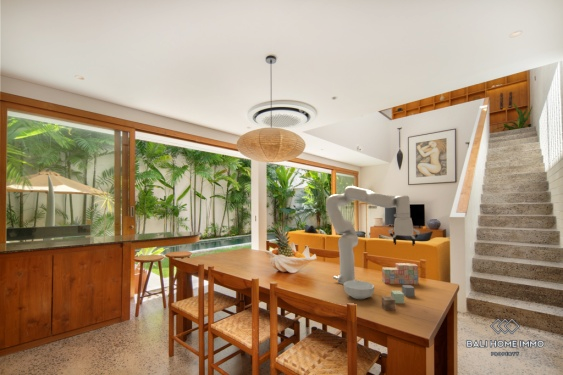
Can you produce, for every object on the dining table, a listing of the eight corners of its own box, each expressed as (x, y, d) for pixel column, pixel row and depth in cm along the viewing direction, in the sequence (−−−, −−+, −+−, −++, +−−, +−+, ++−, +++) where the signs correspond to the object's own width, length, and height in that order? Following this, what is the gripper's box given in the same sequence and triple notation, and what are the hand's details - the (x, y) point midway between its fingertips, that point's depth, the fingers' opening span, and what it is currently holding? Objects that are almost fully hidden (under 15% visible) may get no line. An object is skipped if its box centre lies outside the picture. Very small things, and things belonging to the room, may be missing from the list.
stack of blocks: (384, 283, 175) (384, 264, 176) (382, 281, 182) (381, 262, 182) (418, 284, 173) (418, 265, 174) (415, 281, 179) (414, 263, 180)
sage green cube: (394, 303, 142) (394, 293, 142) (391, 300, 147) (390, 290, 147) (404, 303, 142) (403, 293, 142) (400, 300, 147) (400, 290, 147)
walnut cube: (385, 310, 133) (385, 300, 133) (382, 306, 138) (381, 296, 138) (395, 310, 133) (395, 300, 133) (391, 306, 138) (391, 296, 138)
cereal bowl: (370, 304, 140) (369, 291, 141) (339, 298, 149) (339, 286, 149) (377, 294, 155) (377, 282, 155) (349, 290, 164) (349, 278, 164)
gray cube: (405, 296, 151) (405, 287, 152) (402, 293, 156) (401, 285, 157) (414, 296, 151) (414, 287, 151) (410, 293, 156) (410, 285, 156)
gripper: (386, 216, 160) (387, 245, 159) (419, 216, 152) (420, 247, 151) (388, 215, 167) (389, 243, 166) (419, 216, 159) (420, 245, 158)
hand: (404, 245), depth 158 cm, fingers open, 9 cm apart
